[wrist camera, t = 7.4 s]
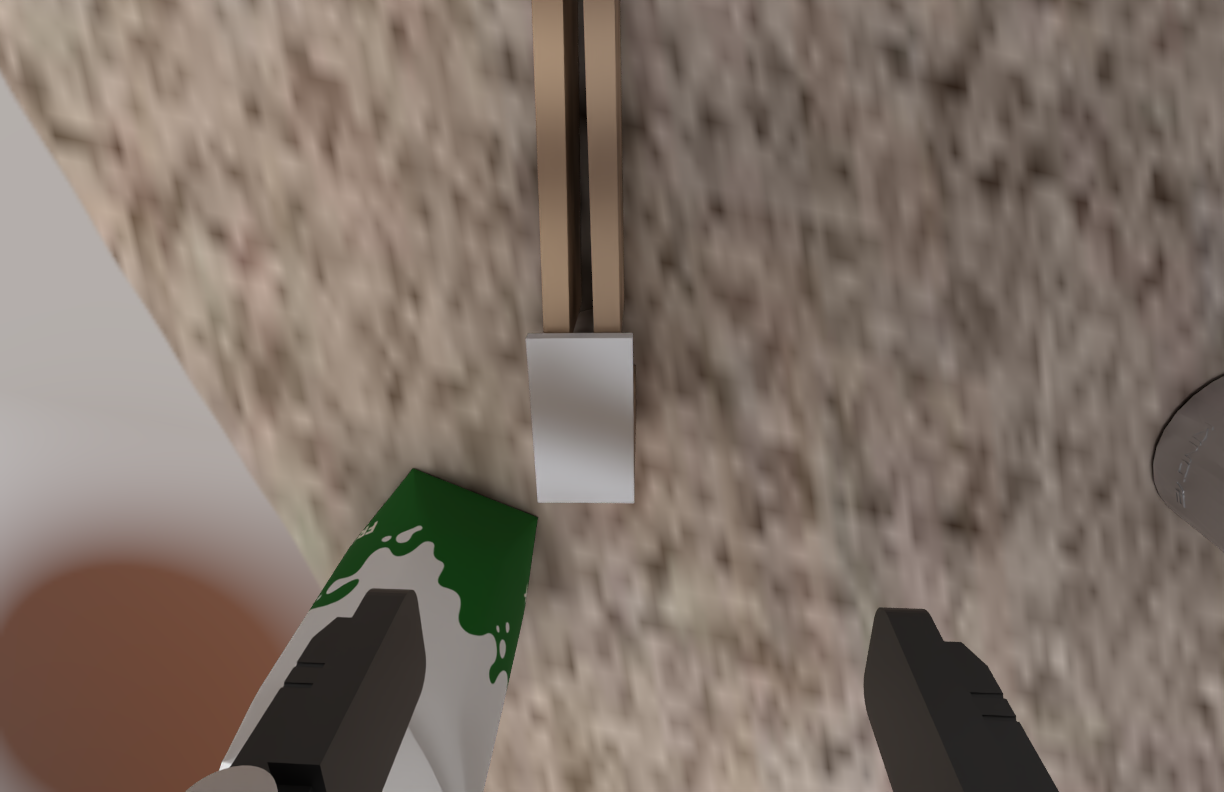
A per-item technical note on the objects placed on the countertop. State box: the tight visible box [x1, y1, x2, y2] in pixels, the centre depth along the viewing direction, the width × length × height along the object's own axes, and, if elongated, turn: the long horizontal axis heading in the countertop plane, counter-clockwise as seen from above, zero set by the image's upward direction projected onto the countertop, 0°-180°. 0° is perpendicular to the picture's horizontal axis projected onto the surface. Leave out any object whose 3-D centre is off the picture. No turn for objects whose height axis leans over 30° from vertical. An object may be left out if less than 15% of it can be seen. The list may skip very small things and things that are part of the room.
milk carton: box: [219, 469, 538, 792], centre depth 30 cm, size 9×9×20 cm
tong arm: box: [532, 0, 594, 333], centre depth 28 cm, size 16×3×6 cm, turn 0°
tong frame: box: [526, 0, 636, 503], centre depth 28 cm, size 20×4×7 cm, turn 1°
